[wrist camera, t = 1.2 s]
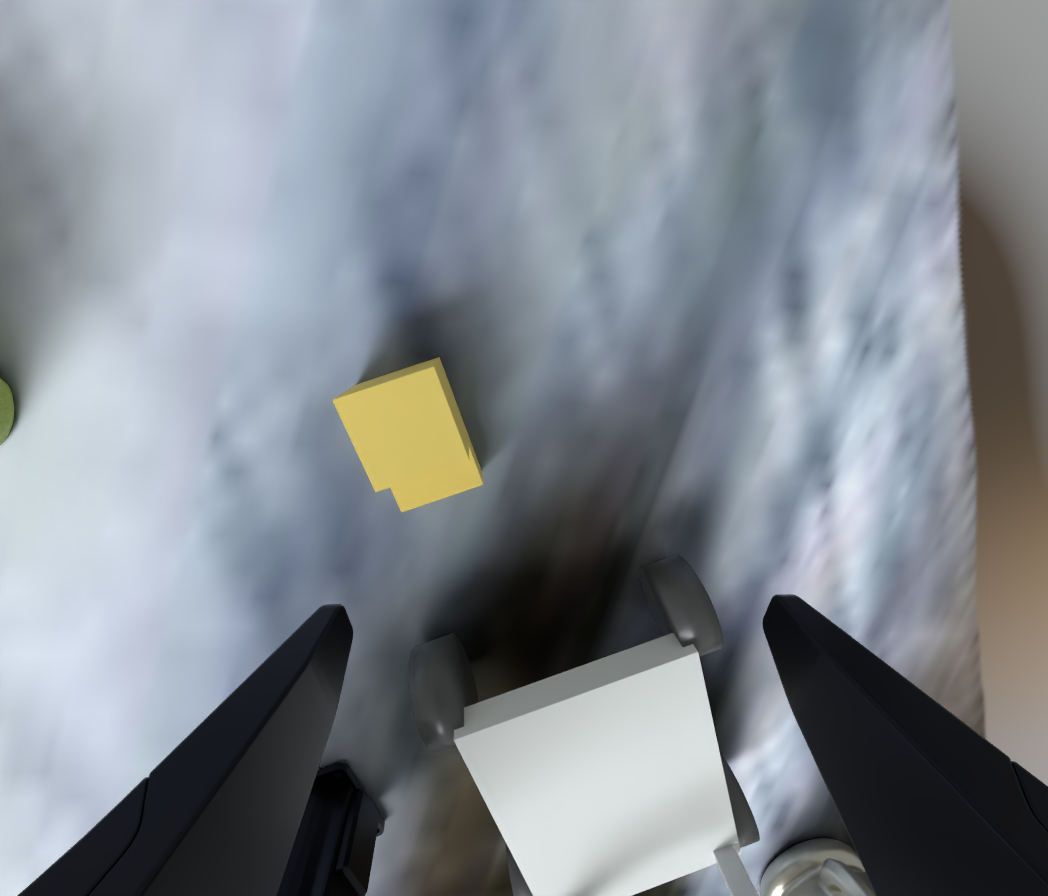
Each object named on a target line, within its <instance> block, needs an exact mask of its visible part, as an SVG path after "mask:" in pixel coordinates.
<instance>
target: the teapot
mask: <svg viewBox="0 0 1048 896" xmlns="http://www.w3.org/2000/svg"><path fill="white" fill-rule="evenodd" d="M760 893H761V896H877V895H876V893H875V891H874V889H873V887H872V885H871V882H870V880H869V878H868V876H867V874H866V872H865V869H864V867H863V865H862V863H861V860H860V858H859V856H858V854H857V853H856V852H855V851H854V850H853V849H852V848H851V847H849V846H848V845H846V844H845V843H843V842H841V841H838V840H835V839H828V838H818V839H812V840H808V841H804V842H801V843H799V844H796V845H794V846H792V847H790V848H789V849H787V850H785V851H784V852H783V853H781V854H780V855H779V856H777V857H776V858H775V859H774V860H773V861H772V862H771V863H770V865H769V866H768V867H767V869H766V871H765V872H764V874H763V877H762V880H761V885H760Z"/></svg>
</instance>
